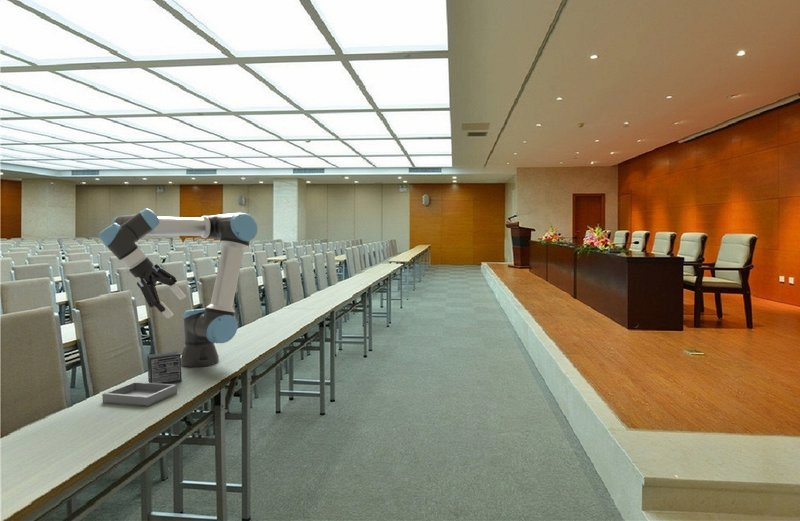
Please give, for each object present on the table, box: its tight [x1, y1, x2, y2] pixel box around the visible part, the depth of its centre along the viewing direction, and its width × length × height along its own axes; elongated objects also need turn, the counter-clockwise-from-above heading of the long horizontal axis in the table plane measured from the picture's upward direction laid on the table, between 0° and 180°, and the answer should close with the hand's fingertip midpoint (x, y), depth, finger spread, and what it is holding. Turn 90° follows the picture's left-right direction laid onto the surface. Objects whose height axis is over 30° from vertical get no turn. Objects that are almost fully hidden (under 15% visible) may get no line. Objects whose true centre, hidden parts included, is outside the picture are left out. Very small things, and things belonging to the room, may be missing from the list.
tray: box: [101, 381, 178, 408], centre depth 169 cm, size 14×17×3 cm
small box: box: [147, 350, 183, 384], centre depth 187 cm, size 11×6×10 cm, turn 125°
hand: (177, 307), depth 189 cm, fingers open, 13 cm apart
